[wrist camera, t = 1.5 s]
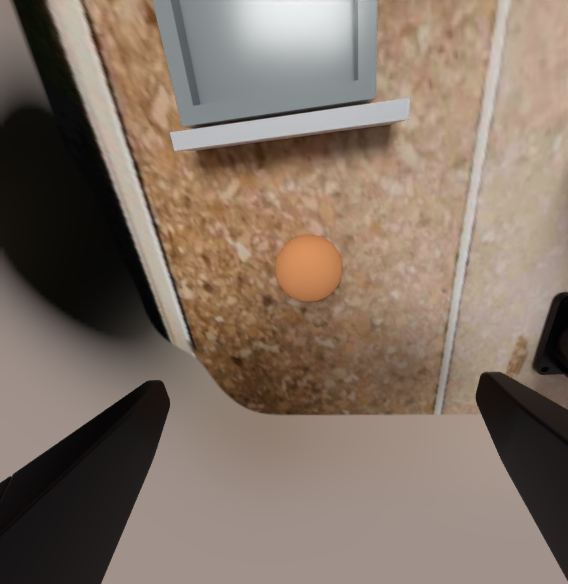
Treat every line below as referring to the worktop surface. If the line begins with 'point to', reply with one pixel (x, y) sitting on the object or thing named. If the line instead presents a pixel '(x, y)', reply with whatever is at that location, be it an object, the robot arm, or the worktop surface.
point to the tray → (267, 57)
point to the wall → (292, 126)
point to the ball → (309, 268)
